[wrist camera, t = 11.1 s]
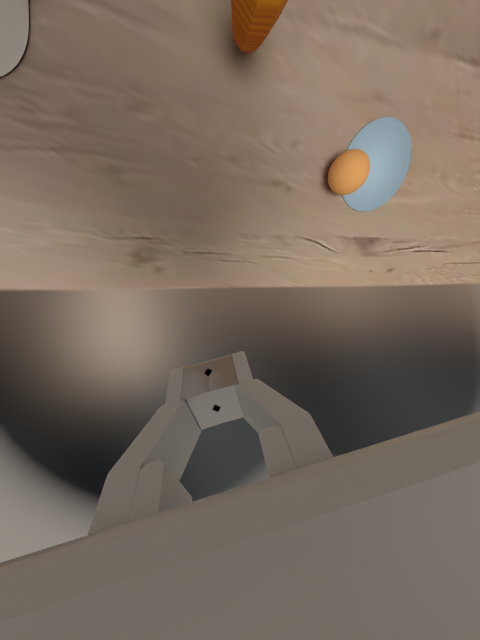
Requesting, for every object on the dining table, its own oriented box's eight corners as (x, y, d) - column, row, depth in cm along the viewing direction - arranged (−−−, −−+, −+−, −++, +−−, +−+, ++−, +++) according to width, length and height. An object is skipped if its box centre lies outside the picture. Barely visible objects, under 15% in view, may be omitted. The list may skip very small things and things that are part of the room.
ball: (373, 136, 25) (366, 146, 29) (326, 154, 27) (326, 161, 32) (373, 186, 27) (367, 188, 32) (329, 199, 30) (329, 199, 34)
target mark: (342, 126, 29) (342, 126, 29) (419, 109, 30) (420, 109, 29) (337, 218, 35) (338, 218, 35) (401, 202, 36) (402, 202, 36)
